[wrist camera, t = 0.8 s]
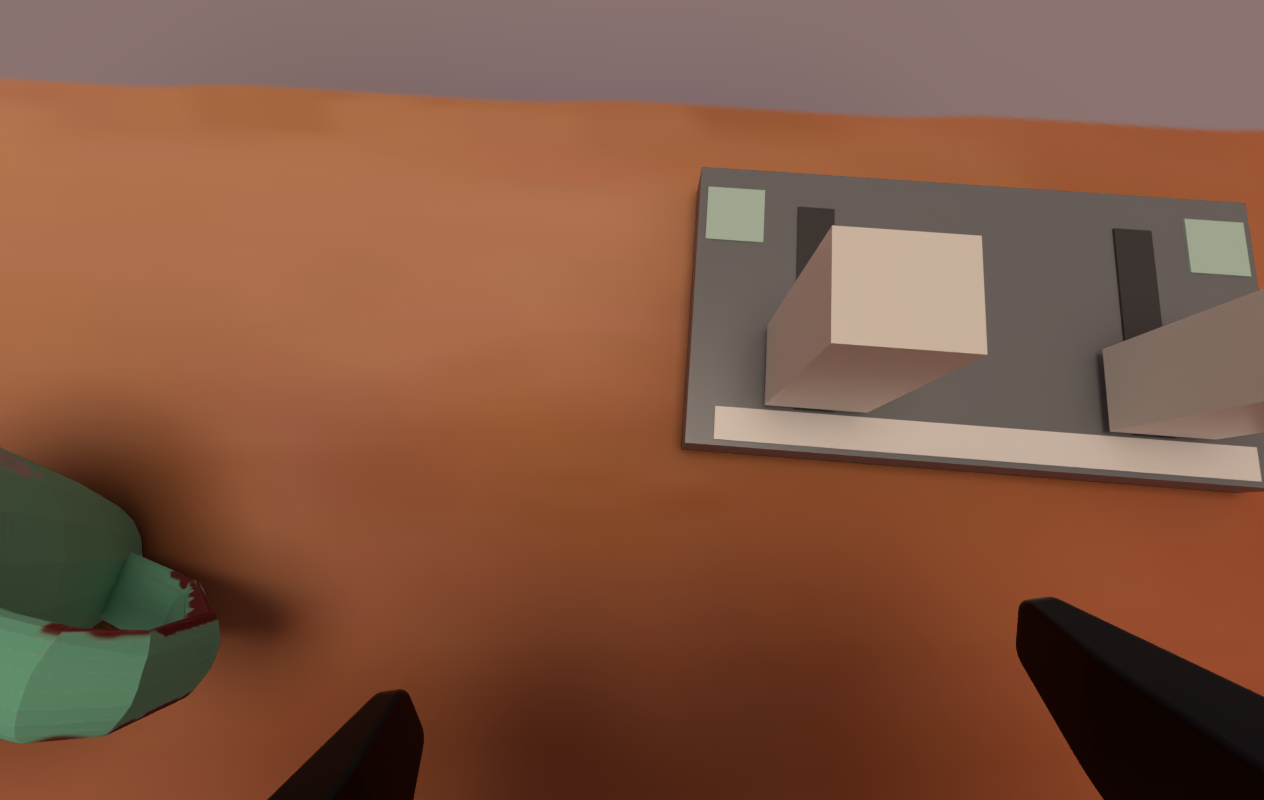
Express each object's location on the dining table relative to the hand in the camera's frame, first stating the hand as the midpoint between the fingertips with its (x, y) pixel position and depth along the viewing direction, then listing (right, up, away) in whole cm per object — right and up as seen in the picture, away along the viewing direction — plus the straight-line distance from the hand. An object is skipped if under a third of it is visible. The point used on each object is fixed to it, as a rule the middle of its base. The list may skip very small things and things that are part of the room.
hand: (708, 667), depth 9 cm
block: (+17, +4, +12) cm, 22 cm away
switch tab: (+5, +5, +12) cm, 14 cm away
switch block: (+12, +7, +15) cm, 20 cm away
